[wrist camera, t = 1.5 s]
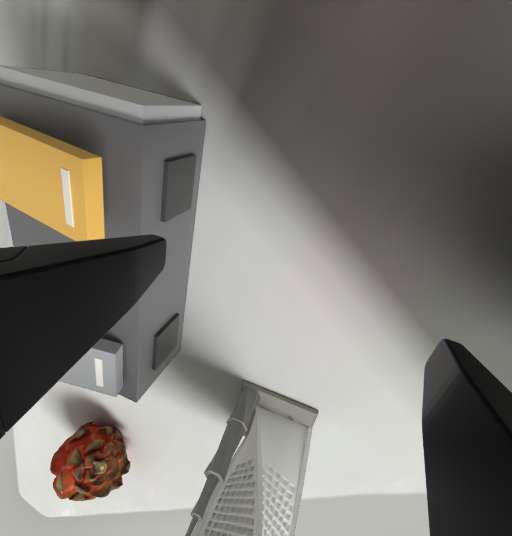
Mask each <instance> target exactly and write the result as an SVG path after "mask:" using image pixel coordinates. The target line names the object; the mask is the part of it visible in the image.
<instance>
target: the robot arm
mask: <svg viewBox="0 0 512 536" xmlns="http://www.w3.org/2000/svg"><path fill="white" fill-rule="evenodd" d="M166 250H167V242H166V240H165V238H163V237H160V236H157V235H154V234H150V235H139V236H128V237H117V238H106V239H96V240H85V241H74V242H63V243H52V244H41V245H30V246H28V247H27V246H19V247H8V248H0V439H1V438H2V437H3V436H4V435H5V432H7V431H8V430H9V429H10V428H11V427H12V426H13V425H14V424H15V423H17V422H18V421H19V420H20V419H21V418H22V417H23V416H24V415H25V414H26V413H27V412H28V411H29V410H30V409H31V408H32V407H33V406H34V405H35V404H36V403H37V402H38V401H39V400H40V399H41V398H42V397H43V396H44V395H45V394H46V393H47V392H48V391H49V390H50V389H51V388H52V387H53V386H54V385H55V384H56V383H57V382H58V381H59V380H60V379H61V378H62V377H63V376H64V375H65V374H66V373H67V372H68V371H69V370H70V369H71V368H72V367H73V366H74V365H75V364H76V363H77V362H78V361H79V360H80V359H81V358H82V357H83V356H84V355H85V354H86V353H87V352H88V351H89V350H90V349H91V348H92V347H93V346H94V345H95V344H96V343H97V342H98V341H99V340H100V339H101V338H102V337H103V336H104V335H105V334H106V333H107V332H108V331H109V330H110V329H111V328H112V327H113V326H114V325H115V324H116V323H117V322H118V321H119V320H120V319H121V318H122V317H123V316H124V315H125V314H126V313H127V312H128V311H129V310H130V309H131V308H132V307H133V306H134V305H135V304H136V303H137V301H138V300H139V299H140V298H141V297H142V295H143V294H144V293H145V292H146V290H147V289H148V288H149V287H150V285H151V284H152V283H153V282H154V280H155V279H156V278H157V277H158V275H159V274H160V273H161V272H162V270H163V269H164V267H165V263H166ZM422 433H423V447H424V460H425V474H426V488H427V500H428V515H429V528H430V536H512V393H511V392H510V391H509V390H508V389H507V388H506V387H505V386H504V385H503V384H502V383H501V382H500V381H499V380H498V379H497V378H496V377H495V376H494V375H493V374H492V373H491V372H490V371H489V370H488V369H487V368H485V367H484V366H483V365H482V364H481V363H480V362H479V361H478V360H477V359H476V358H475V357H474V356H473V355H472V354H471V353H470V352H469V351H468V350H467V349H466V348H465V347H464V346H463V345H462V344H460V343H457V342H454V341H452V340H449V339H442V340H441V341H440V342H439V344H438V345H437V347H436V348H435V350H434V351H433V353H432V354H431V356H430V357H429V359H428V361H427V363H426V365H425V371H424V389H423V407H422Z"/></svg>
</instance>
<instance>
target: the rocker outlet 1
mask: <svg viewBox="0 0 512 536" xmlns="http://www.w3.org/2000/svg"><path fill="white" fill-rule="evenodd" d="M0 200H2V201H4V202H6V203H7V204H9V205H11V206H13V207H15V208H17V209H18V210H20V211H22V212H24V213H26V214H27V215H29V216H31V217H33V218H35V219H36V220H38V221H40V222H42V223H44V224H45V225H47V226H49V227H51V228H53V229H54V230H56V231H58V232H60V233H62V234H64V235H65V236H67V237H69V238H71V239H73V240H74V241H85V240H96V239H105V233H104V206H103V179H102V157H100V156H97V155H95V154H92V153H90V152H88V151H85V150H83V149H80V148H78V147H75V146H73V145H70V144H68V143H66V142H63V141H61V140H58V139H56V138H53V137H51V136H48V135H46V134H43V133H41V132H39V131H36V130H34V129H31V128H29V127H26V126H24V125H21V124H19V123H17V122H14V121H12V120H9V119H7V118H4V117H2V116H0Z"/></svg>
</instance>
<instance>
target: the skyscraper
mask: <svg viewBox="0 0 512 536" xmlns="http://www.w3.org/2000/svg"><path fill="white" fill-rule="evenodd" d="M317 415H318V410H315V409H313V408H310V407H308V406H305V405H303V404H301V403H298V402H296V401H293V400H291V399H288V398H286V397H284V396H281V395H279V394H276V393H274V392H271V391H269V390H266V389H264V388H262V387H259V386H257V385H254V384H252V383H249V382H247V381H244V383H243V387H242V391H241V395H240V398H239V401H238V404H237V407H236V409H235V411H234V413H233V414H232V416H231V417H230V418H229V419H228V421H227V427H226V429H225V432H224V435H223V437H222V440H221V442H220V445H219V448H218V450H217V452H216V454H215V456H214V458H213V459H212V461H211V462H210V464H209V466H208V467H207V469H206V470H205V472H204V474H205V476H206V477H207V480H206V483H205V485H204V488H203V491H202V493H201V496H200V498H199V500H198V502H197V503H196V505H195V507H194V509H193V510H192V512H191V516H192V517H193V519H192V521H191V523H190V526H189V529H188V531H187V533H186V535H185V536H294V533H295V528H296V522H297V518H298V512H299V507H300V501H301V496H302V490H303V484H304V478H305V472H306V466H307V459H308V453H309V447H310V440H311V434H312V427H313V425H314V422H315V420H316V417H317ZM242 436H245V438H244V440H243V442H242V443H241V445H240V446H239V448H238V450H237V451H236V453H235V454H234V452H235V450H236V448H237V446H238V444H239V442H240V440H241V438H242ZM233 454H234V456H233ZM232 456H233V458H232ZM231 458H232V459H231ZM197 521H198V522H197ZM196 523H197V524H196ZM195 525H196V527H195ZM194 527H195V529H194ZM193 529H194V531H193ZM192 531H193V533H192ZM191 533H192V535H191Z"/></svg>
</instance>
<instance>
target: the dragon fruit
mask: <svg viewBox="0 0 512 536" xmlns="http://www.w3.org/2000/svg"><path fill="white" fill-rule="evenodd" d="M91 423H94V422H88V423H86V424H85V425H83V426H81V427H80V428H79V429H78V431H77V432H76V433H75V434H74V435H73V436H71V437H70V438H68V439H67V440H66V441H65V442H64V443H63V444H62V445H61V446H60V448H59V449H58V451H57V452H56V453H54V455H53V458H52V461H51V467H50V471H51V473H53V474H54V475H56V478H55V479H54V482H53V488H54V490H55V492H56V493H57V496H58V497H59V498H60V499H66V498H69V499H70V500H73V501H74V500H75V501H84V500H92V499H95V498H96V497H106V496H107V495H108V494H109V493H110V492H111V491H112V490H114V489H118V488H119V487H120V486H122V485H123V483H122V477H121V476H122V475H123V474H126V473H128V472H129V468H130V461H128V459H127V454H126V448H125V446H124V445H123V438H122V435H121V434H120V433H119V431H118V430H117V428H116V427H108V426H106V427H101V428H100V425H98V424H91Z"/></svg>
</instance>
